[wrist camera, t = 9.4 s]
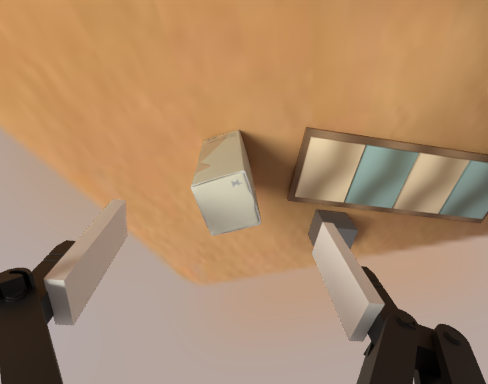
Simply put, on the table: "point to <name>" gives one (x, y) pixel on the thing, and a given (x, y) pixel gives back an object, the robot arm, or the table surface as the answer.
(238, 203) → the box
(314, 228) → the cube
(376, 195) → the track
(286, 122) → the table surface
